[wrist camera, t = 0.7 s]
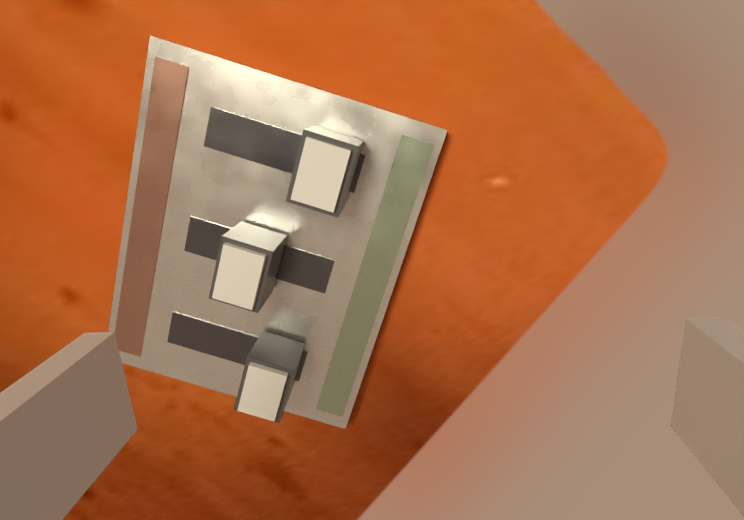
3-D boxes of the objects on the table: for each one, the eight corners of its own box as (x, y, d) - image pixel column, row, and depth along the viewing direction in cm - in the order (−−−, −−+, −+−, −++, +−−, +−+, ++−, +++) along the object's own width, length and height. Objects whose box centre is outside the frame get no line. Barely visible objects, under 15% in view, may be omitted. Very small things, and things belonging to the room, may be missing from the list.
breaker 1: (228, 278, 32) (205, 301, 29) (241, 221, 31) (219, 237, 27) (272, 291, 32) (255, 316, 29) (286, 235, 31) (271, 253, 27)
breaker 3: (298, 190, 30) (283, 202, 27) (315, 125, 29) (302, 129, 25) (345, 204, 30) (337, 219, 27) (364, 140, 29) (357, 147, 25)
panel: (116, 347, 37) (103, 358, 35) (162, 38, 30) (149, 35, 28) (347, 416, 37) (345, 429, 36) (445, 128, 30) (447, 130, 29)
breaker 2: (250, 379, 35) (231, 413, 31) (262, 330, 33) (244, 359, 30) (291, 391, 35) (277, 426, 31) (305, 343, 33) (293, 373, 30)
